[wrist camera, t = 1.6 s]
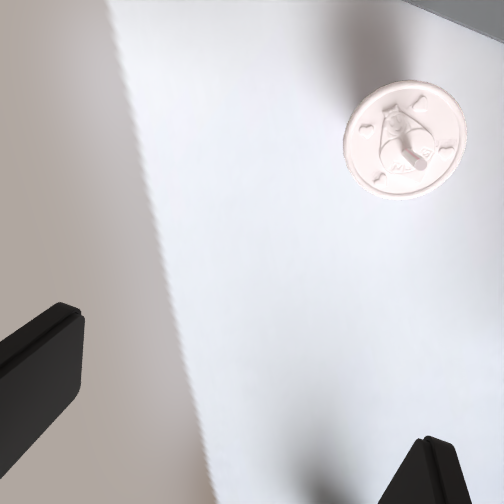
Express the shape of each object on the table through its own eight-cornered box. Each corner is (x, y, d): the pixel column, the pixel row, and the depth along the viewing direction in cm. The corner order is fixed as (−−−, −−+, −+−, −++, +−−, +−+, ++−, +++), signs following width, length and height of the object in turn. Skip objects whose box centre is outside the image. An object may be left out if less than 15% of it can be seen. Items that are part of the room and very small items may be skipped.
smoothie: (362, 186, 31) (373, 243, 18) (330, 113, 30) (318, 120, 17) (443, 150, 29) (519, 187, 16) (413, 68, 27) (470, 40, 15)
